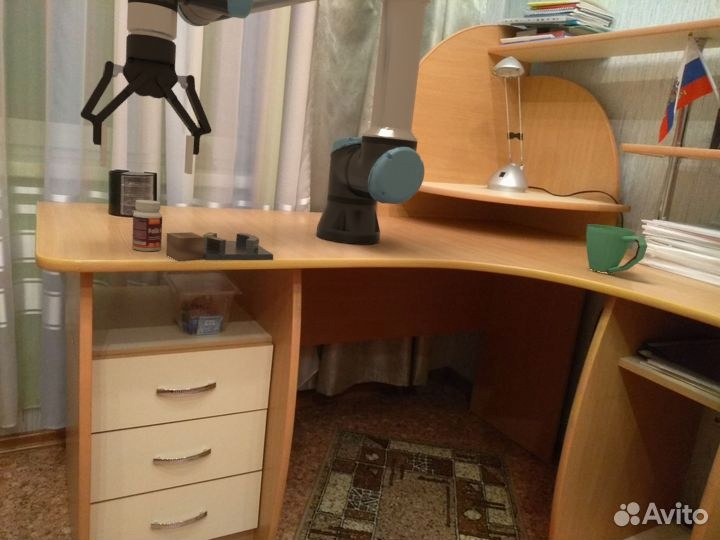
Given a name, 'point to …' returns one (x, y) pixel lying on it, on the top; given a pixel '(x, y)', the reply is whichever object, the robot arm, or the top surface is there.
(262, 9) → the robot arm
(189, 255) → the walnut block
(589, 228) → the mug
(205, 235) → the socket
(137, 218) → the pill bottle
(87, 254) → the top surface
